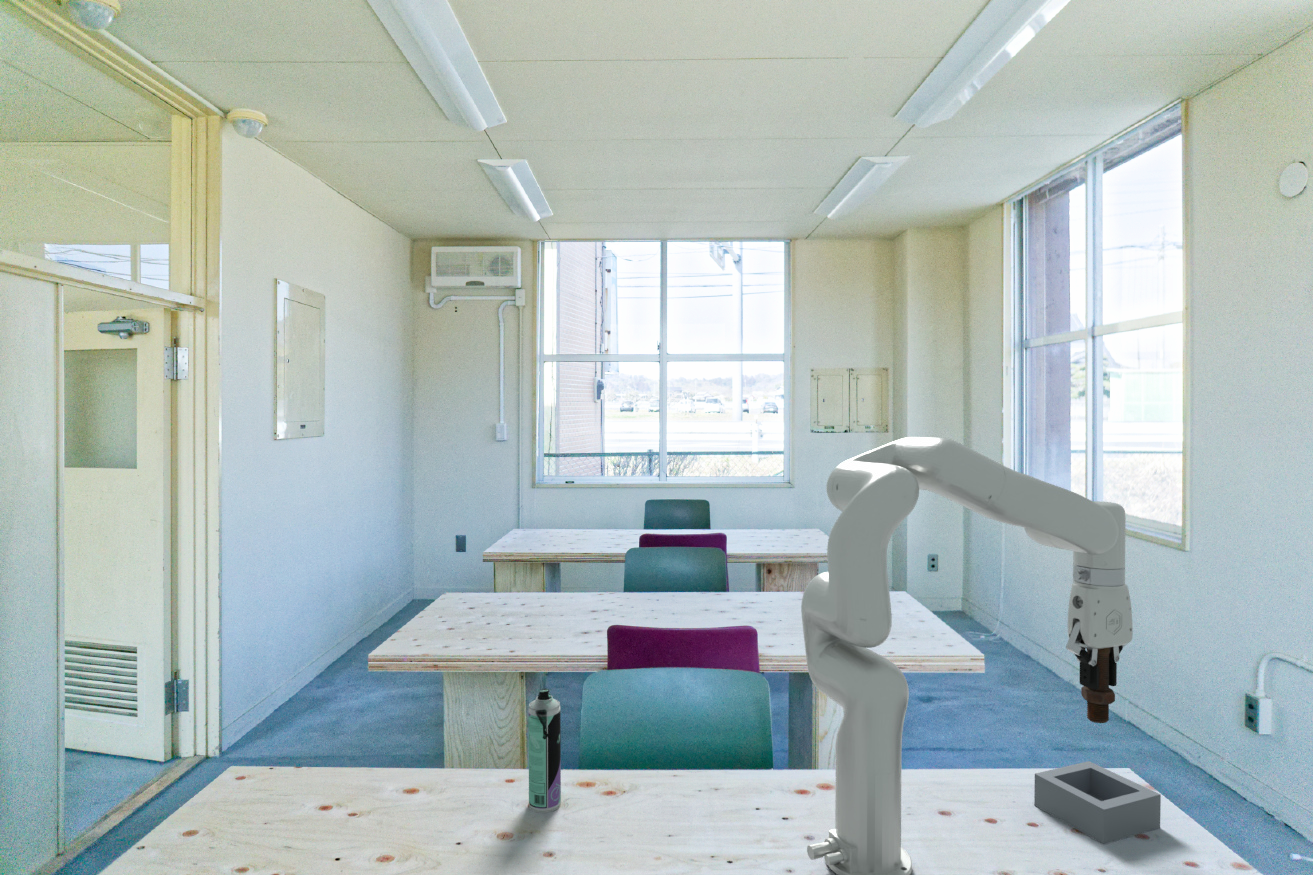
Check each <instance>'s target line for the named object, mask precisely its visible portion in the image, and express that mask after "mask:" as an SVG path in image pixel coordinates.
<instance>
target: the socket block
mask: <svg viewBox="0 0 1313 875" xmlns="http://www.w3.org/2000/svg"><path fill="white" fill-rule="evenodd" d="M1161 801H1162V800H1161V794H1160V793H1158V792H1156V791H1154V790H1152V789H1150V788H1148V787H1145V786H1143V785H1141V784H1139V783H1137V782H1135V781H1133V780H1130V779H1128V778H1126V777H1124V776H1122V775H1120V774H1117V773H1115V772H1113V771H1111V770H1109V769H1107V768H1104V767H1103V766H1100V765H1098V764H1096V763H1094V762H1091V761H1090V760H1089V761H1082V762H1080V763H1075V764H1070V765H1067V766H1062V767H1058V768H1053V769H1049V770H1045V771H1040V772H1036V773H1034V800H1033V802H1034V806H1036V807H1037V808H1039V809H1040V810H1042V811H1044V812H1045V813H1048V814H1050V815H1051V816H1053V817H1054V818H1056V819H1058V820H1060V821H1062V822H1063V823H1065V824H1067V825H1069V826H1070V827H1071V828H1074V829H1075V830H1078V831H1079V832H1081V833H1082V834H1084V835H1086V836H1088V837H1090V838H1092V839H1094V840H1096V841H1097V842H1099V843H1100V844H1103V845H1106V844H1109V843H1113V842H1117V841H1120V840H1123V839H1127V838H1131V837H1133V836H1136V835H1140V834H1144V833H1148V832H1150V831H1155V830H1158V829H1161V803H1162V802H1161Z"/></svg>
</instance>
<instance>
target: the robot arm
mask: <svg viewBox="0 0 1313 875" xmlns="http://www.w3.org/2000/svg"><path fill="white" fill-rule="evenodd" d="M920 490H921V491H928V492H932V493H934V494H936V495H938V496H941V497H943V498H946V499H947V500H949V501H951V502H954V503H956V504H958V505H960V506H962V507H964V508H967V509H969V510H970V511H972V512H974V513H976V514H978V515H980V516H983V517H985V518H987V519H990V520H993V521H996V522H999V523H1003V524H1006V525H1012V526H1017V527H1021V528H1024V531H1025V533H1026V534H1027V536H1028V537H1029V538H1030V539H1031V540H1032V541H1033V542H1035V543H1037V544H1039V545H1041V546H1045V547H1050V548H1054V549H1055V548H1056V549H1061V550H1066V551H1070V552H1071V551H1072V562H1073V564H1072V584H1071V589H1070V594H1069V600H1068V610H1067V637H1068V640H1067V643H1066V646H1065V648H1066V650H1067V651H1069V652H1071V653H1072V654H1073V655H1074V656H1075V657H1076V661H1077V662H1079V684H1080V685H1081V686H1082V687H1083V686H1086V687H1088V688H1091V689H1094V690H1097V689H1099V666H1098V665H1096V663H1097V652H1098V649H1102V648H1109V647H1110V653H1109V687H1116V686H1117V675H1118V672H1117V670H1118V669H1117V667H1118V664H1117V663H1118V662H1119V661H1120V654H1121V652H1122V650H1123V649H1124V647H1125V646H1126V645H1127V644H1130V643H1131V642H1132V640H1133V632H1134V631H1133V612H1132V611H1133V610H1132V601H1131V596H1130V591H1129V588H1128V587H1129V586H1128V584H1126V510H1125V508H1124V507H1123V505H1121V504H1119V503H1116V502H1110V501H1100V500H1099V501H1098V500H1097V501H1095V500H1094V501H1093V500H1091V499H1089V498H1087V497H1084V496H1083V495H1081V494H1079V493H1076V492H1074V491H1072V490H1070V489H1069V490H1068V489H1066V488H1064V487H1061V486H1058V485H1055V484H1052V483H1049V482H1046V481H1043V480H1041V479H1038V478H1036V477H1034V476H1030V475H1028V474H1025V473H1023V472H1019V471H1016V470H1015V469H1011V468H1009V467H1007V466H1006V465H1003V464H1002V463H999V461H998V462H997V461H996V460H994V459H992V458H989V457H988V456H985V455H983V454H982V453H980V452H978V451H976V450H974V449H973V448H970V447H969V446H966V445H965V444H963V443H960V442H958V441H956V440H954V439H951V438H948V437H947V438H946V437H938V436H907V437H902V438H900V439H897V440H894V441H891V442H888V443H886V444H884V445H881V446H879V447H877V448H873V449H872V450H869V451H866V452H864V453H861V454H858V455H856V456H854V457H851V458H849V459H846V460H844V461H842V462H840V463H838V465H837V466H835V467H834V468H833V470H832V471H831V472H830V474H829V475H828V478H827V482H826V493H827V497H828V499H829V502H830V503H831V505H833V507H835V508H836V509H837V510H839V511H841V513H840V514H839V516H838V517H837V519H836V521H835V522H834V524H833V525H832V528H831V530H830V533H829V536H828V540H827V546H826V547H827V549H826V551H827V571H824V572H821V573H819V574H817V575H815V576H814V577H813V578H812V579H811V580H810V581H809V582H808V583H807V585H806V587H805V589H804V591H803V594H802V599H801V607H800V608H801V610H800V611H801V622H802V632H803V642H804V650H805V660H806V665H807V666H806V667H807V670H808V674H809V675H808V676H809V678H810V680H811V682H812V683H813V685H814V686H815V687H816V689H818V691H819V692H821V693H822V694H824V695H825V697H828V698H829V699H831V700H832V701H833V702H835V703H836V704H838V705H839V706H840V707H842V709H843V715H842V720H841V722H840V725H839V727H838V730H837V732H836V737H835V750H834V751H835V754H834V756H835V757H834V758H835V792H834V793H835V798H834V799H835V801H834V802H835V809H834V812H835V813H834V814H835V815H834V817H835V818H834V820H835V821H834V824H835V827H834V829H830V830H828V838H826V839H824V842H818V843H813V844H808V845H807V847H806V853H807V855H808V857H809V859H810V860H812V861H813V860H814V861H815V860H817V859H822V858H824V862H825V864H826V866H828V867H829V869H830V870H832V872H834V874H836V875H911V874H912V871H913V864H912V863H913V862H912V858H911V855H909V853H908V852H907V850H905V849H904V848H903V847H902V773H903V772H902V771H903V770H902V751H903V750H902V749H903V748H902V743H903V732H904V724H905V717H906V713H907V710H908V704H909V698H910V692H909V691H910V690H909V684H908V681H907V678H906V677H905V675H904V673H903V672H902V670H901V669H900V668H899V667H898V666H897V665H896V664H895V663H894V662H893V661H891V660H890V659H889V658H887V657H885V656H883V655H882V654H880V653H877V652H876V651H873V650H871V649H873V648H875V647H879V646H880V645H883V644H884V643H885V642H886V640H887V639H888V638H889V636H890V634H891V631H892V630H891V629H892V624H893V623H892V621H893V620H892V619H893V618H892V617H893V616H892V605H891V594H890V584H889V575H888V565H887V564H888V562H887V558H888V556H887V554H888V548H889V547H888V546H889V543H890V540H891V538H892V536H893V534H894V532H895V531H896V530H897V528H898V527H899V526H900V525H901V524H902V522H903V521H904V520H905V519H906V518H907V517H908V516H909V515H910V514H911V513H912V512H913V511H914V509H915V507H916V505H917V503H918V501H919V496H920ZM1083 641H1084V642H1083ZM1087 649H1090V652H1089V654H1088V652H1087Z"/></svg>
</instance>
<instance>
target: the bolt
mask: <svg viewBox="0 0 1313 875" xmlns="http://www.w3.org/2000/svg"><path fill="white" fill-rule="evenodd" d="M1083 642H1084V641H1083ZM1086 651H1087V652H1088V654H1089V652H1090V649H1087V648H1086ZM1109 653H1110V647H1109V648H1102V649H1098V652H1097V663H1096V665H1098V666H1099V689H1097V690H1094V689H1091V688H1088V687H1086V686H1083V685H1082V687H1081V691H1080V694H1081V697H1082V698H1083V700H1085V701H1086V718H1087V719H1088V720H1089V722H1091V723H1094V724H1105V723H1107V722H1109V720H1110V718H1109V716H1110V714H1109V712H1110V711H1109V710H1110V709H1109V707H1110V705H1111V704H1113V703H1114V702H1115V701H1116V693H1115V692H1114V691H1113V689H1112V688H1110V685H1109Z"/></svg>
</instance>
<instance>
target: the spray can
mask: <svg viewBox="0 0 1313 875" xmlns="http://www.w3.org/2000/svg"><path fill="white" fill-rule="evenodd" d="M550 693H551V692H550V689H549V688H541V689H540V691H539V693H538V695H537V696H536V698H535V699H534V700H533V701H531V702H530V703H529V704H528V712H527V713H528V807H529V809H530V810H531V811H533V812H535V813H540V814H541V813H543V814H544V813H545V814H546V813H551V812H553V811H555V810H557V809H559V808H560V807H561V803H562V782H561V781H562V778H561V776H562V774H561V773H562V769H561V768H562V767H561V766H562V765H561V763H562V761H561V760H562V758H561V752H562V751H561V749H562V748H561V747H562V746H561V745H562V744H561V739H562V738H561V736H562V734H561V733H562V732H561V724H562V723H561V702H560V701H559V700H558V699H555V698H553V695H551V694H550Z"/></svg>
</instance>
